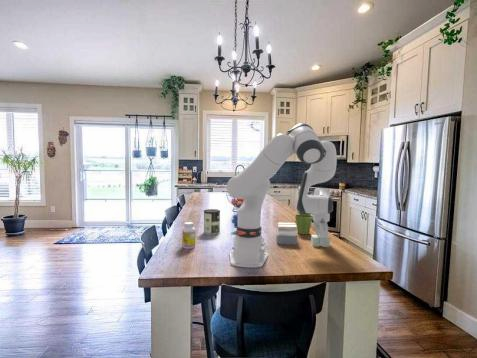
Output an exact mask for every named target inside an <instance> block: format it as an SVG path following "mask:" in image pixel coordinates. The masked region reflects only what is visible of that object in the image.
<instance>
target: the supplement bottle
mask: <svg viewBox="0 0 477 358" xmlns="http://www.w3.org/2000/svg"><path fill="white" fill-rule="evenodd" d="M183 224H184V225H183V226H184V227H183V228H182V238H181V239H182V248H183V249H185V250H187V249H189V250H190V249H193V248H195V247H196V228H195V227H194V222H192V221H187V222H184V223H183Z"/></svg>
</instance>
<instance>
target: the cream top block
mask: <svg viewBox="0 0 477 358" xmlns="http://www.w3.org/2000/svg"><path fill="white" fill-rule="evenodd" d="M277 230H278V235H283V236H297V237H298V231H297V224H296V223H295V222H280V221H278V222H277Z"/></svg>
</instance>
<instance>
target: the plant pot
mask: <svg viewBox="0 0 477 358" xmlns="http://www.w3.org/2000/svg"><path fill="white" fill-rule="evenodd" d="M294 218H295V222H296V223H295V224H296V226H297V234H300V235H309V234H310V232H311V225H312V222H313V214H301V213H299V214H294Z"/></svg>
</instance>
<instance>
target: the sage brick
mask: <svg viewBox="0 0 477 358" xmlns="http://www.w3.org/2000/svg"><path fill="white" fill-rule="evenodd" d="M320 240H321V238H320V236H319V235H317V234H310V244H311V246H312V247H319V246H322V247H323V248H330V247H331V246H330V245H331V238H330V236H329V235H328V238H325V241H324V245H321V244H320Z"/></svg>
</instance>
